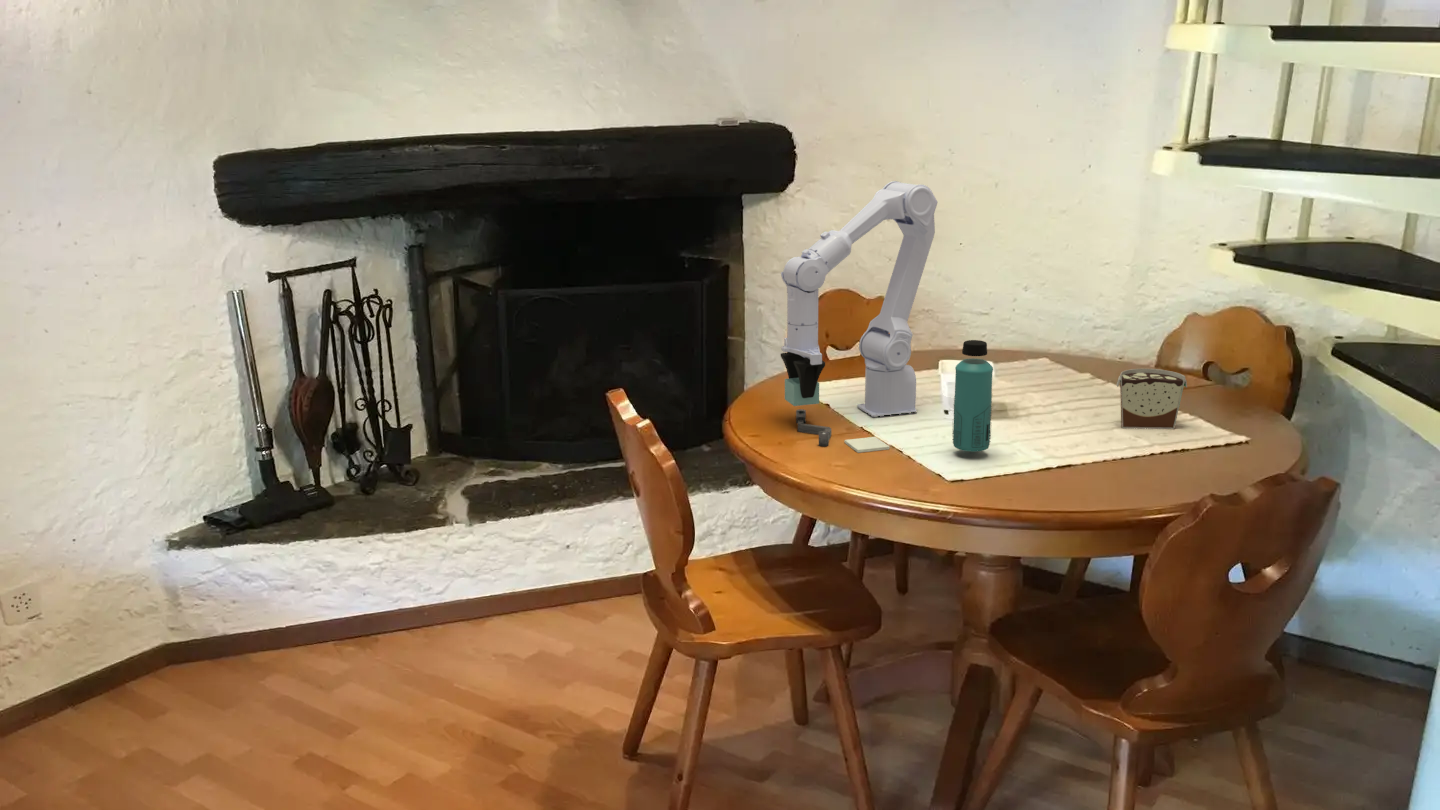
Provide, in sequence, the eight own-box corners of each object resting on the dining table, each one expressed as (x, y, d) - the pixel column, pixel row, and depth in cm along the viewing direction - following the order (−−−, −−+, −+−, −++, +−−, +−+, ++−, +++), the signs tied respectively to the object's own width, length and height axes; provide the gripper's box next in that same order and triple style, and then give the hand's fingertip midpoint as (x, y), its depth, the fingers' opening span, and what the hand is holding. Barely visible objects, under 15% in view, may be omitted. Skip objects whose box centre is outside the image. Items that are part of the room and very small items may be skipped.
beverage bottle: (990, 461, 189) (996, 346, 183) (950, 459, 190) (955, 345, 184) (989, 449, 195) (995, 337, 189) (950, 447, 196) (955, 336, 191)
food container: (1173, 419, 210) (1178, 368, 207) (1182, 429, 204) (1188, 376, 201) (1105, 418, 211) (1110, 367, 208) (1113, 428, 205) (1118, 375, 203)
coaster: (875, 439, 201) (875, 436, 201) (889, 449, 196) (889, 446, 195) (844, 442, 199) (844, 440, 199) (857, 452, 194) (857, 450, 194)
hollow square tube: (809, 396, 213) (809, 376, 212) (819, 403, 208) (819, 382, 207) (784, 399, 211) (784, 378, 210) (794, 406, 207) (794, 385, 206)
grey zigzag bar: (811, 420, 213) (811, 408, 212) (843, 444, 198) (843, 431, 198) (787, 422, 212) (787, 410, 211) (817, 447, 197) (817, 434, 196)
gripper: (769, 316, 211) (769, 385, 215) (796, 332, 198) (796, 405, 202) (803, 314, 213) (803, 382, 217) (833, 329, 200) (832, 401, 203)
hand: (802, 393), depth 209 cm, fingers closed on hollow square tube, 5 cm apart
